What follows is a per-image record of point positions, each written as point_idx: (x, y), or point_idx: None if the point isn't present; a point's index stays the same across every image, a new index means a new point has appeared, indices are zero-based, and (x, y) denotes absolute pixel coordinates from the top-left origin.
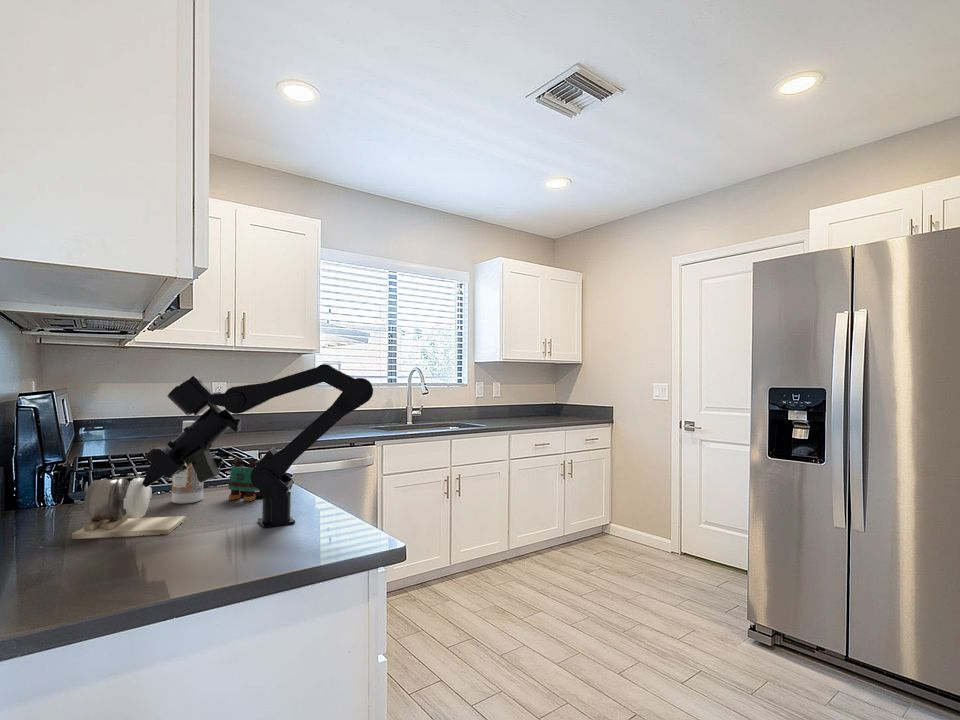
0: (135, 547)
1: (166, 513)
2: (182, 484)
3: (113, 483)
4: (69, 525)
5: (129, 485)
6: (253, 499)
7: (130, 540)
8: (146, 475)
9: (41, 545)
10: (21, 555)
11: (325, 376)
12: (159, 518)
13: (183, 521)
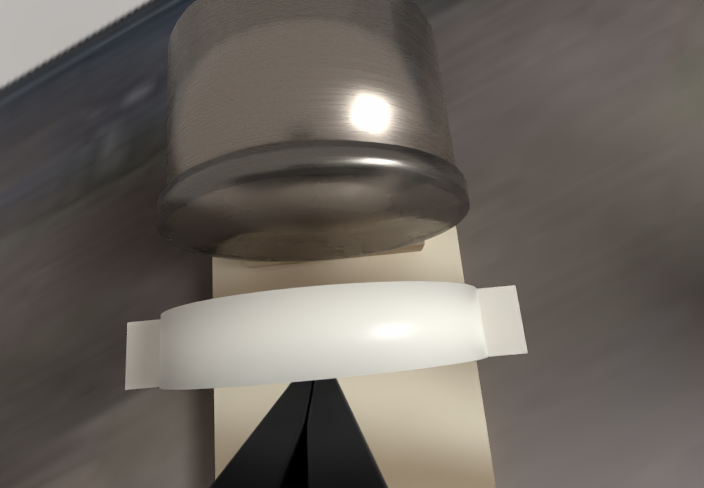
0: (36, 484)
1: (659, 346)
2: None
3: (213, 151)
4: (429, 19)
5: (177, 312)
6: None
7: (155, 403)
8: (238, 456)
9: (154, 85)
10: (44, 94)
11: None
12: (451, 408)
13: None
